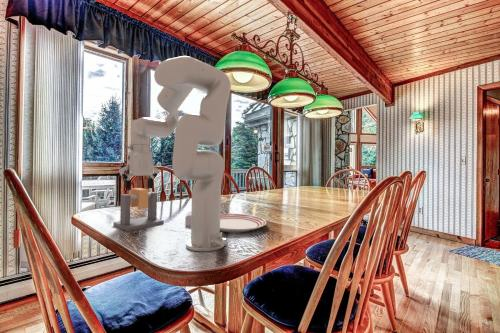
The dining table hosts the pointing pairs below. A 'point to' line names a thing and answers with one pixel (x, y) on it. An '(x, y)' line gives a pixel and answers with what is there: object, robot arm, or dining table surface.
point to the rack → (138, 223)
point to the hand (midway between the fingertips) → (139, 188)
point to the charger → (188, 219)
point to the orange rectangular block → (140, 198)
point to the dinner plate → (240, 222)
